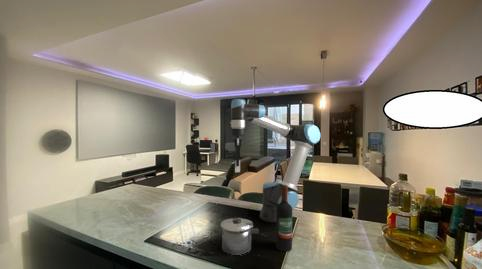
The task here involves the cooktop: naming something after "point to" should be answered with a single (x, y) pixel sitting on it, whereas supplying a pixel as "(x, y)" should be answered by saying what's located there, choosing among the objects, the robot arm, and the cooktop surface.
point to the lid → (236, 224)
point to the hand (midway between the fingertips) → (237, 171)
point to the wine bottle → (284, 223)
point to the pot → (236, 240)
